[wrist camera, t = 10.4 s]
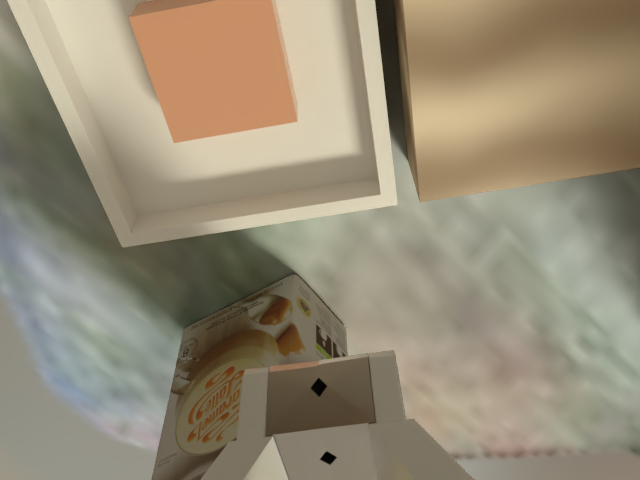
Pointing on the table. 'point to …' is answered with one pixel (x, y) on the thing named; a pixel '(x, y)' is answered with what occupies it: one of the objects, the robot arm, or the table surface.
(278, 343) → the coffee box
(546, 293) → the table surface
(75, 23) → the box
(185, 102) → the tile
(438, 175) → the block
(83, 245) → the table surface
